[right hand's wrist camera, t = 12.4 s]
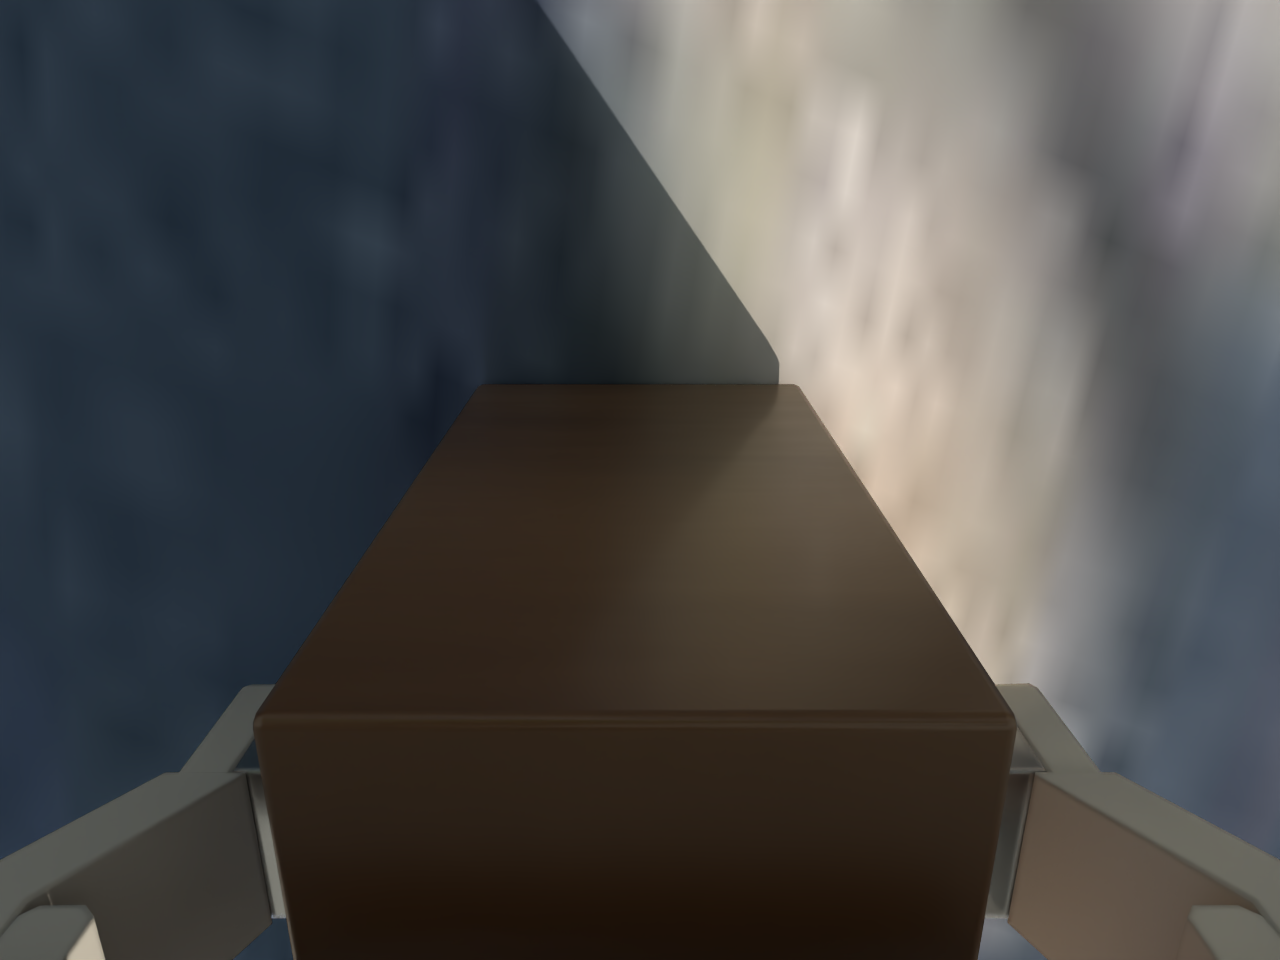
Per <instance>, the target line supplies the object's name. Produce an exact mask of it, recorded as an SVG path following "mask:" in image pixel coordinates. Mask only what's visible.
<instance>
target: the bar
mask: <svg viewBox="0 0 1280 960" xmlns="http://www.w3.org/2000/svg"><path fill="white" fill-rule="evenodd" d="M1016 732H1017V722H1016V718H1015V715H1014V713H1013V711H1012V710H1011V708H1010V707H1009V705H1008V704H1007V702H1006V701H1005V699H1004V698H1003V696H1002V695H1001V693H1000V692H999V690H998V689H997V687H996V686H995V684H994V682H993V681H992V679H991V678H990V676H989V675H988V673H987V672H986V670H985V669H984V667H983V666H982V664H981V663H980V661H979V660H978V658H977V657H976V655H975V654H974V652H973V651H972V649H971V647H970V646H969V644H968V643H967V641H966V640H965V638H964V637H963V635H962V634H961V632H960V631H959V629H958V628H957V626H956V625H955V623H954V622H953V620H952V619H951V617H950V616H949V614H948V613H947V611H946V609H945V608H944V606H943V605H942V603H941V602H940V600H939V599H938V597H937V596H936V594H935V593H934V591H933V590H932V588H931V587H930V585H929V584H928V582H927V581H926V579H925V578H924V576H923V575H922V573H921V571H920V570H919V568H918V567H917V565H916V564H915V562H914V561H913V559H912V558H911V556H910V555H909V553H908V552H907V550H906V549H905V547H904V546H903V544H902V543H901V541H900V540H899V538H898V537H897V535H896V533H895V532H894V530H893V529H892V527H891V526H890V524H889V523H888V521H887V520H886V518H885V517H884V515H883V514H882V512H881V511H880V509H879V508H878V506H877V505H876V503H875V502H874V500H873V498H872V497H871V495H870V494H869V492H868V491H867V489H866V488H865V486H864V485H863V483H862V482H861V480H860V479H859V477H858V476H857V474H856V473H855V471H854V470H853V468H852V467H851V465H850V464H849V462H848V460H847V459H846V457H845V456H844V454H843V453H842V451H841V450H840V448H839V447H838V445H837V444H836V442H835V441H834V439H833V438H832V436H831V435H830V433H829V432H828V430H827V429H826V427H825V426H824V424H823V422H822V421H821V419H820V418H819V416H818V415H817V413H816V412H815V410H814V409H813V407H812V406H811V404H810V403H809V401H808V400H807V398H806V397H805V395H804V394H803V392H802V391H801V389H800V388H799V386H797V385H794V384H483V385H480V386H478V387H477V389H476V390H475V392H474V393H473V395H472V396H471V398H470V399H469V401H468V402H467V404H466V405H465V407H464V408H463V410H462V411H461V412H460V414H459V415H458V417H457V418H456V420H455V421H454V423H453V424H452V426H451V427H450V429H449V430H448V432H447V433H446V434H445V436H444V437H443V439H442V440H441V442H440V443H439V445H438V446H437V448H436V449H435V451H434V452H433V454H432V455H431V457H430V458H429V459H428V461H427V462H426V464H425V465H424V467H423V468H422V470H421V471H420V473H419V474H418V476H417V477H416V479H415V480H414V481H413V483H412V484H411V486H410V487H409V489H408V490H407V492H406V493H405V495H404V496H403V498H402V499H401V501H400V502H399V504H398V505H397V506H396V508H395V509H394V511H393V512H392V514H391V515H390V517H389V518H388V520H387V521H386V523H385V524H384V526H383V527H382V528H381V530H380V531H379V533H378V534H377V536H376V537H375V539H374V540H373V542H372V543H371V545H370V546H369V548H368V549H367V551H366V552H365V553H364V555H363V556H362V558H361V559H360V561H359V562H358V564H357V565H356V567H355V568H354V570H353V571H352V573H351V574H350V575H349V577H348V578H347V580H346V581H345V583H344V584H343V586H342V587H341V589H340V590H339V592H338V593H337V595H336V596H335V598H334V599H333V600H332V602H331V603H330V605H329V606H328V608H327V609H326V611H325V612H324V614H323V615H322V617H321V618H320V620H319V621H318V622H317V624H316V625H315V627H314V628H313V630H312V631H311V633H310V634H309V636H308V637H307V639H306V640H305V642H304V643H303V645H302V646H301V647H300V649H299V650H298V652H297V653H296V655H295V656H294V658H293V659H292V661H291V662H290V664H289V665H288V667H287V668H286V669H285V671H284V672H283V674H282V675H281V677H280V678H279V680H278V681H277V683H276V684H275V686H274V687H273V689H272V690H271V692H270V693H269V694H268V696H267V697H266V699H265V700H264V702H263V703H262V705H261V706H260V708H259V709H258V711H257V712H256V714H255V718H254V721H253V733H254V738H255V744H256V750H257V755H258V761H259V767H260V772H261V778H262V784H263V790H264V795H265V801H266V807H267V812H268V818H269V824H270V829H271V835H272V841H273V846H274V852H275V858H276V863H277V869H278V875H279V880H280V886H281V892H282V897H283V903H284V909H285V914H286V920H287V926H288V931H289V937H290V943H291V948H292V954H293V960H977V959H978V953H979V947H980V942H981V936H982V930H983V924H984V918H985V913H986V907H987V901H988V895H989V889H990V883H991V878H992V872H993V866H994V860H995V854H996V849H997V843H998V837H999V831H1000V825H1001V819H1002V814H1003V808H1004V802H1005V796H1006V790H1007V785H1008V779H1009V773H1010V767H1011V761H1012V755H1013V750H1014V744H1015V738H1016Z"/></svg>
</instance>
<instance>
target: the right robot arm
mask: <svg viewBox="0 0 1280 960" xmlns="http://www.w3.org/2000/svg"><path fill="white" fill-rule="evenodd" d="M274 686H275V684H252V685H248V686H245V687H243V688H242V689H241V690H240V691H239V693H238V694H237V695H236V697H235V698H234V699H233V701H232V702H231V703H230V705H229V706H228V707H227V709H226V710H225V711H224V713H223V714H222V715H221V717H220V718H219V719H218V721H217V722H216V723H215V725H214V726H213V727H212V729H211V730H210V731H209V733H208V734H207V735H206V737H205V738H204V739H203V741H202V742H201V743H200V745H199V746H198V748H197V749H196V750H195V752H194V753H193V754H192V756H191V757H190V758H189V760H188V761H187V762H186V764H185V765H184V766H183V768H182V769H181V770H180V772H169V773H163V774H161V775H159V776H157V777H155V778H154V779H152V780H150V781H148V782H146V783H144V784H142V785H140V786H138V787H137V788H135V789H133V790H131V791H129V792H127V793H125V794H123V795H122V796H120V797H118V798H116V799H114V800H112V801H110V802H108V803H106V804H105V805H103V806H101V807H99V808H97V809H95V810H93V811H91V812H89V813H88V814H86V815H84V816H82V817H80V818H78V819H76V820H74V821H72V822H71V823H69V824H67V825H65V826H63V827H61V828H59V829H57V830H56V831H54V832H52V833H50V834H48V835H46V836H44V837H42V838H40V839H39V840H37V841H35V842H33V843H31V844H29V845H27V846H25V847H23V848H22V849H20V850H18V851H16V852H14V853H12V854H10V855H8V856H6V857H5V858H3V859H1V860H0V960H233V959H234V958H235V957H236V956H237V955H238V954H239V953H240V952H241V951H242V950H244V949H245V948H246V947H247V946H248V945H249V944H250V943H251V942H252V941H253V940H254V939H256V938H257V937H258V936H259V935H260V934H261V933H262V932H263V931H264V930H265V929H267V928H268V927H269V926H270V925H271V924H272V919H277V918H286V914H285V909H284V903H283V897H282V892H281V886H280V880H279V875H278V869H277V863H276V858H275V852H274V846H273V841H272V835H271V829H270V824H269V818H268V812H267V807H266V801H265V795H264V790H263V784H262V778H261V772H260V767H259V761H258V755H257V750H256V744H255V738H254V733H253V721H254V718H255V714H256V712H257V711H258V709H259V708H260V706H261V705H262V703H263V702H264V700H265V699H266V697H267V696H268V694H269V693H270V692H271V690H272V689H273V687H274ZM995 686H996V687H997V689H998V690H999V692H1000V693H1001V695H1002V696H1003V698H1004V699H1005V701H1006V702H1007V704H1008V705H1009V707H1010V708H1011V710H1012V711H1013V713H1014V715H1015V718H1016V722H1017V732H1016V738H1015V744H1014V750H1013V755H1012V761H1011V767H1010V773H1009V779H1008V785H1007V790H1006V796H1005V802H1004V808H1003V814H1002V819H1001V825H1000V831H999V837H998V843H997V849H996V854H995V860H994V866H993V872H992V878H991V883H990V889H989V895H988V901H987V907H986V913H985V918H1003V919H1008V923H1009V924H1010V925H1011V926H1012V927H1013V928H1014V929H1015V930H1016V931H1017V932H1018V933H1020V934H1021V935H1022V936H1023V937H1024V938H1025V939H1026V940H1027V941H1028V942H1029V943H1031V944H1032V945H1033V946H1034V947H1035V948H1036V949H1037V950H1038V951H1039V952H1040V953H1041V954H1043V955H1044V956H1045V957H1046V958H1047V959H1048V960H1280V860H1279V859H1277V858H1275V857H1273V856H1271V855H1269V854H1268V853H1266V852H1264V851H1262V850H1260V849H1258V848H1256V847H1254V846H1253V845H1251V844H1249V843H1247V842H1245V841H1243V840H1241V839H1239V838H1237V837H1236V836H1234V835H1232V834H1230V833H1228V832H1226V831H1224V830H1222V829H1221V828H1219V827H1217V826H1215V825H1213V824H1211V823H1209V822H1207V821H1206V820H1204V819H1202V818H1200V817H1198V816H1196V815H1194V814H1192V813H1190V812H1189V811H1187V810H1185V809H1183V808H1181V807H1179V806H1177V805H1175V804H1174V803H1172V802H1170V801H1168V800H1166V799H1164V798H1162V797H1160V796H1159V795H1157V794H1155V793H1153V792H1151V791H1149V790H1147V789H1145V788H1143V787H1142V786H1140V785H1138V784H1136V783H1134V782H1132V781H1130V780H1128V779H1127V778H1125V777H1123V776H1121V775H1119V774H1117V773H1112V772H1101V771H1100V770H1099V769H1098V768H1097V766H1096V765H1095V764H1094V762H1093V761H1092V760H1091V758H1090V757H1089V756H1088V754H1087V753H1086V752H1085V750H1084V749H1083V748H1082V746H1081V745H1080V744H1079V742H1078V741H1077V740H1076V738H1075V737H1074V736H1073V734H1072V733H1071V732H1070V730H1069V729H1068V728H1067V726H1066V725H1065V724H1064V722H1063V721H1062V720H1061V718H1060V717H1059V716H1058V714H1057V713H1056V712H1055V710H1054V709H1053V708H1052V706H1051V705H1050V704H1049V702H1048V701H1047V700H1046V698H1045V697H1044V696H1043V694H1042V693H1041V692H1040V690H1039V689H1038V688H1037V687H1035V686H1033V685H1031V684H1029V683H1025V684H998V685H995Z"/></svg>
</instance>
